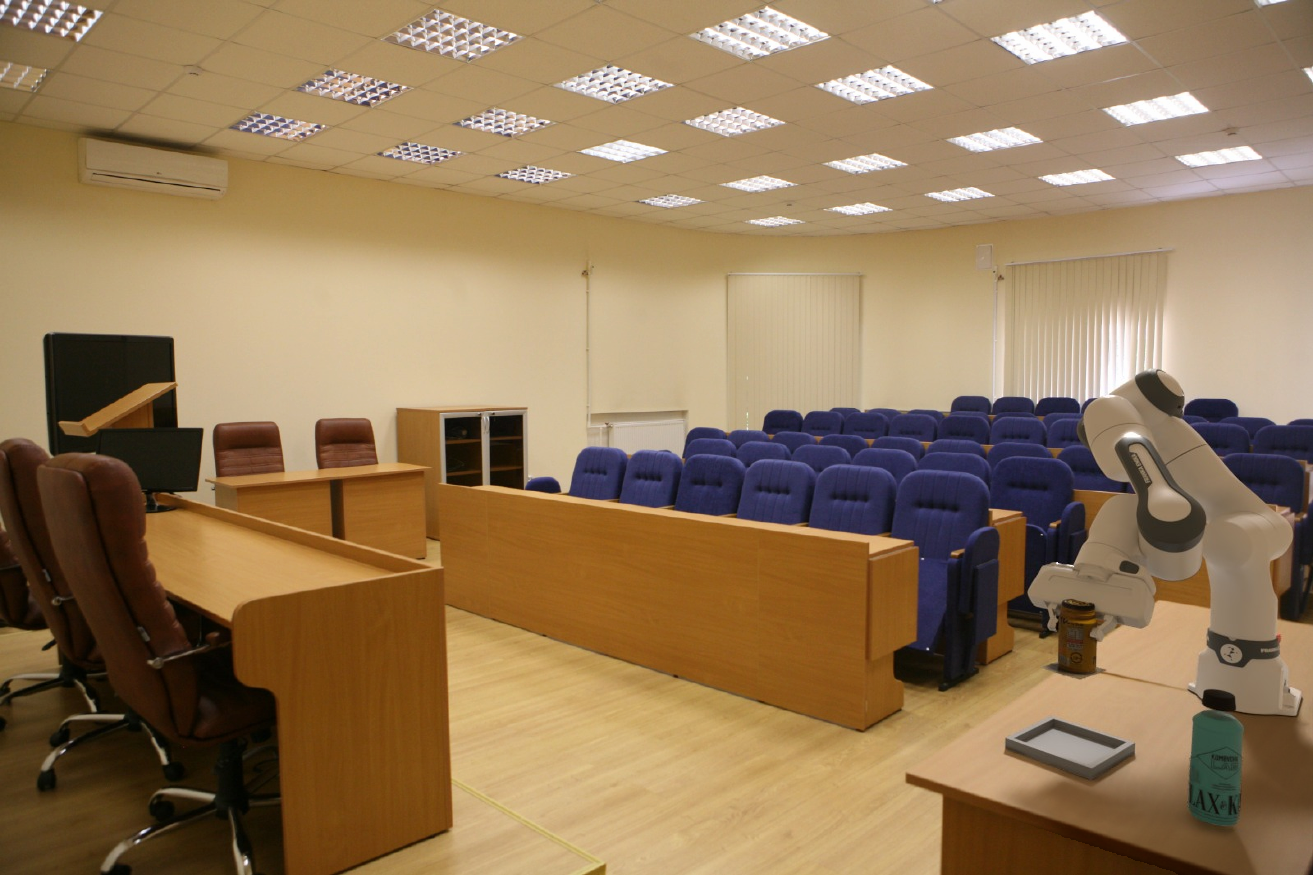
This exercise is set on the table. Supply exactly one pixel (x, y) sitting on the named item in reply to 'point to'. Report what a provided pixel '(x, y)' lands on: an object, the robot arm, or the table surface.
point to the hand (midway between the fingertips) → (1073, 634)
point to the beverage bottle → (1216, 761)
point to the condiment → (1076, 641)
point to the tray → (1070, 747)
